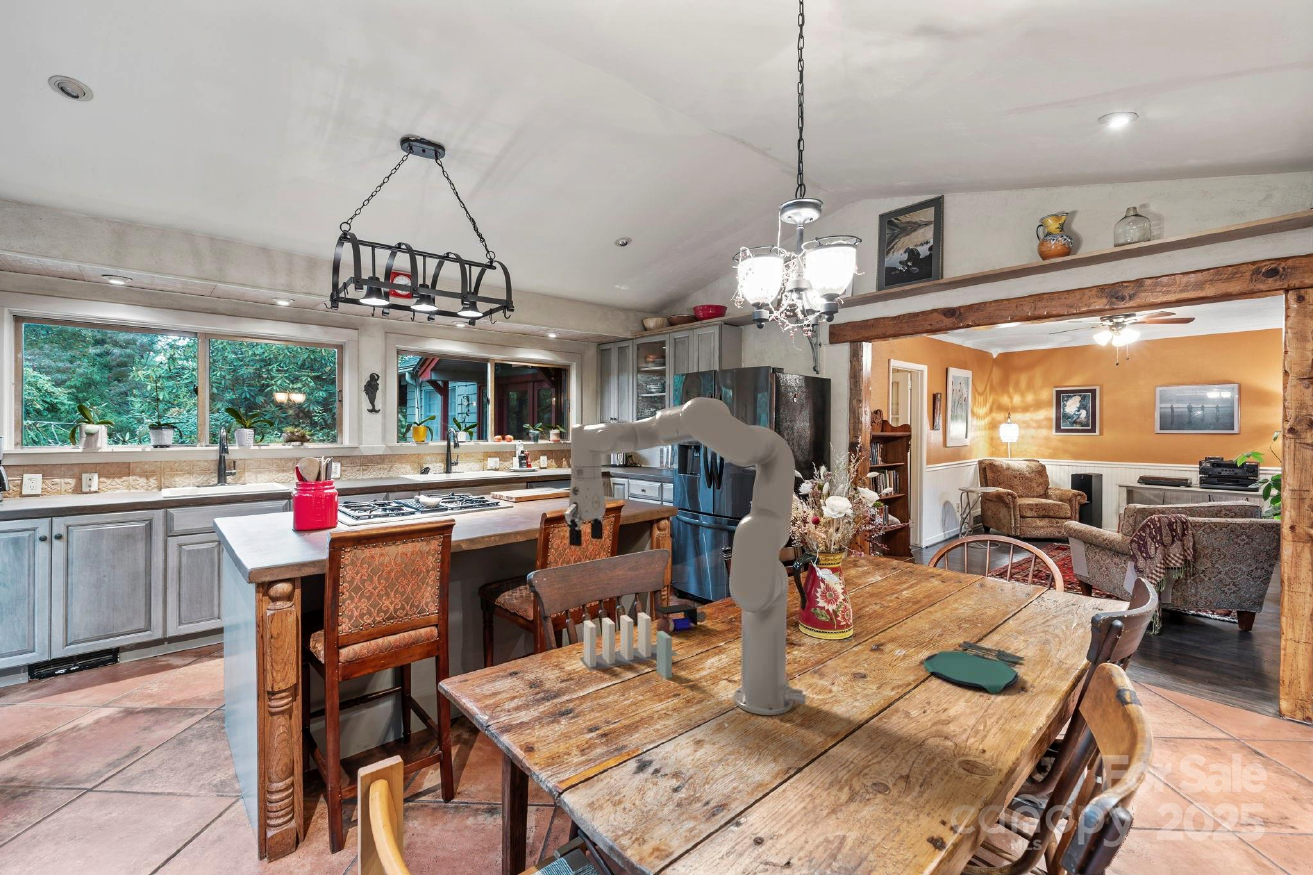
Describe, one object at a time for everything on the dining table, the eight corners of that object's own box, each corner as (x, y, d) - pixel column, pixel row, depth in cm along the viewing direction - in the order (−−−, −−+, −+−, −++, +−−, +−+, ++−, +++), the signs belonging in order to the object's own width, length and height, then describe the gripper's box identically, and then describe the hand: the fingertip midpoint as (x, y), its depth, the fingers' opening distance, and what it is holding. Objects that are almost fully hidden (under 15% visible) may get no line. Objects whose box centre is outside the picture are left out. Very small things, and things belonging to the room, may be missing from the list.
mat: (663, 644, 159) (663, 643, 159) (677, 656, 151) (677, 654, 151) (578, 659, 149) (578, 657, 149) (589, 672, 141) (589, 671, 141)
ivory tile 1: (643, 649, 155) (643, 612, 155) (651, 656, 150) (651, 617, 150) (637, 650, 154) (637, 613, 154) (645, 657, 150) (645, 618, 149)
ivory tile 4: (589, 659, 148) (589, 620, 148) (596, 666, 144) (596, 626, 144) (583, 660, 148) (583, 621, 148) (590, 667, 143) (589, 627, 143)
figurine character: (691, 627, 178) (650, 631, 169) (694, 601, 178) (653, 604, 170) (705, 633, 172) (664, 638, 164) (708, 607, 173) (666, 610, 164)
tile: (662, 671, 142) (662, 630, 142) (671, 679, 137) (671, 637, 137) (656, 672, 141) (656, 631, 141) (665, 680, 137) (665, 638, 137)
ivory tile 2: (626, 652, 153) (626, 614, 152) (633, 659, 148) (633, 620, 148) (620, 653, 152) (620, 615, 152) (627, 660, 147) (627, 621, 147)
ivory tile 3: (608, 655, 150) (608, 617, 150) (614, 662, 146) (614, 623, 146) (602, 656, 150) (602, 618, 150) (608, 664, 145) (608, 624, 145)
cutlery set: (910, 675, 141) (910, 665, 141) (957, 643, 161) (957, 635, 161) (1002, 703, 126) (1002, 692, 126) (1040, 664, 147) (1040, 655, 147)
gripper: (579, 476, 135) (580, 550, 135) (616, 471, 150) (616, 537, 151) (553, 475, 138) (553, 547, 138) (592, 470, 154) (592, 535, 154)
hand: (586, 542), depth 145 cm, fingers open, 9 cm apart
